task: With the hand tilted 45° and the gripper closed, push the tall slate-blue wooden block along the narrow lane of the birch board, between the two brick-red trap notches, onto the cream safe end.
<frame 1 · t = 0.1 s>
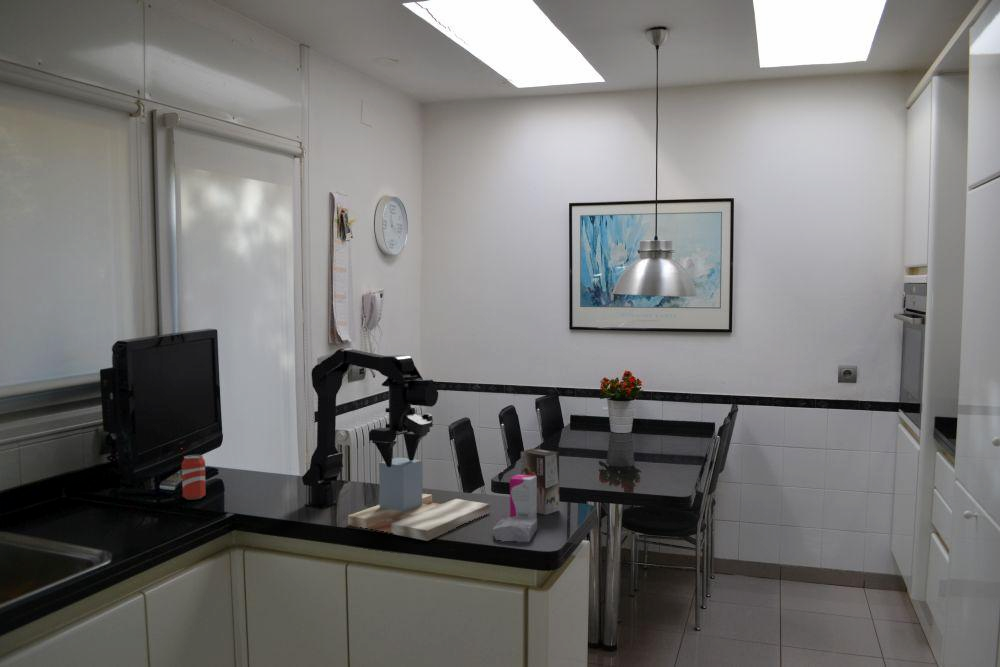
hand: (400, 463, 208), 15 cm above the worktop, tool pointing down, fingers open, 9 cm apart
stone block: (514, 536, 196), on the worktop
supplement box: (523, 521, 208), on the worktop
slate block: (401, 506, 212), point 2 cm above the worktop, touching trap board
beverage can: (194, 498, 231), on the worktop
coffee box: (540, 510, 218), on the worktop
trap board: (420, 519, 209), on the worktop
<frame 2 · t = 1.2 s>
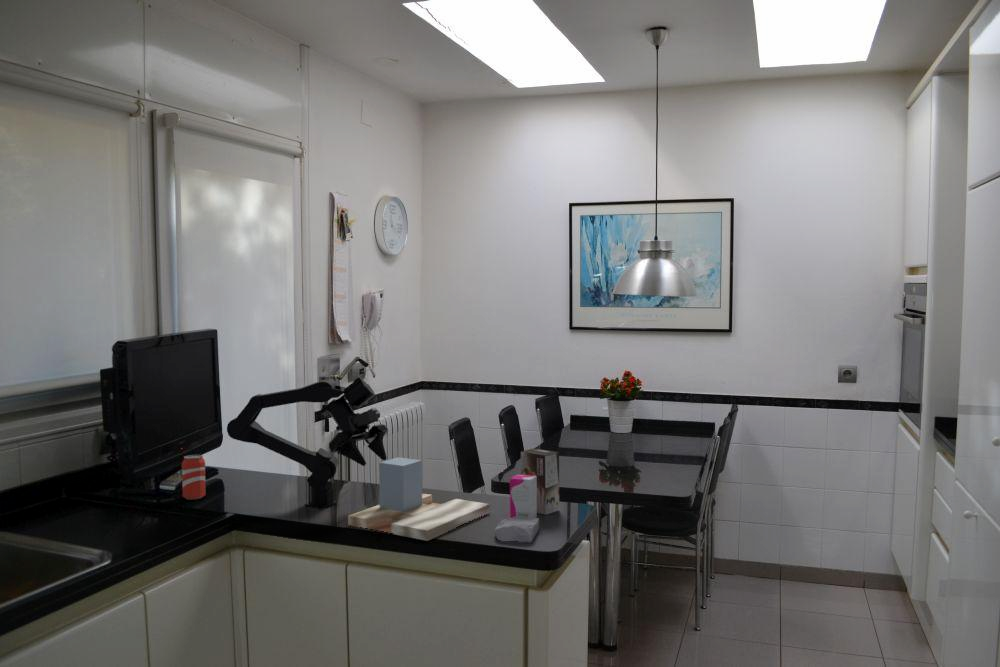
hand: (375, 462, 216), 13 cm above the worktop, tool tilted 45°, fingers open, 8 cm apart
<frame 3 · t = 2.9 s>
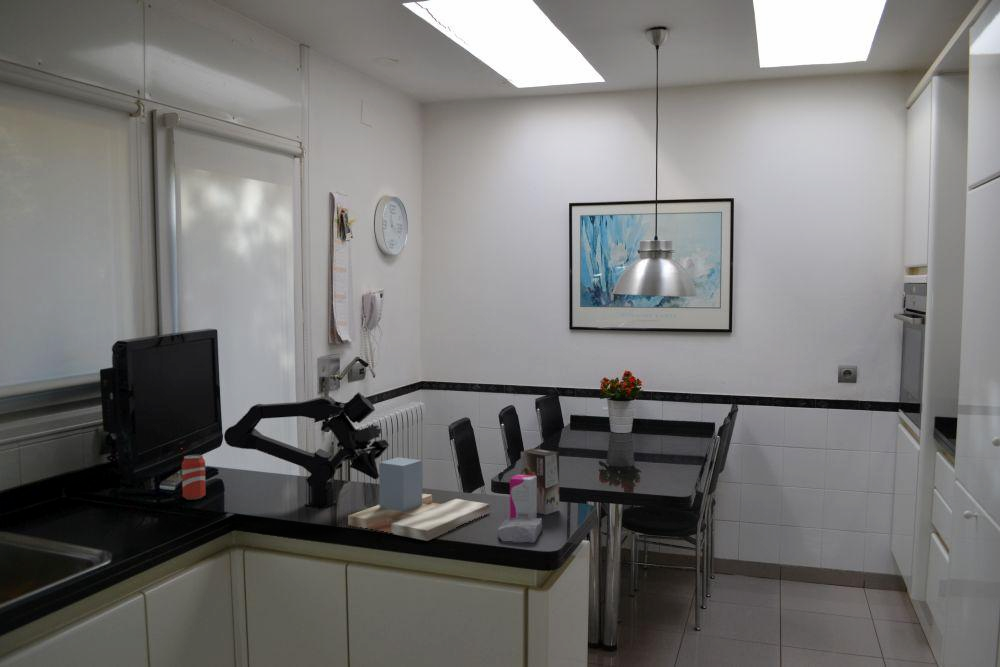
hand: (377, 478, 216), 9 cm above the worktop, tool tilted 45°, fingers closed
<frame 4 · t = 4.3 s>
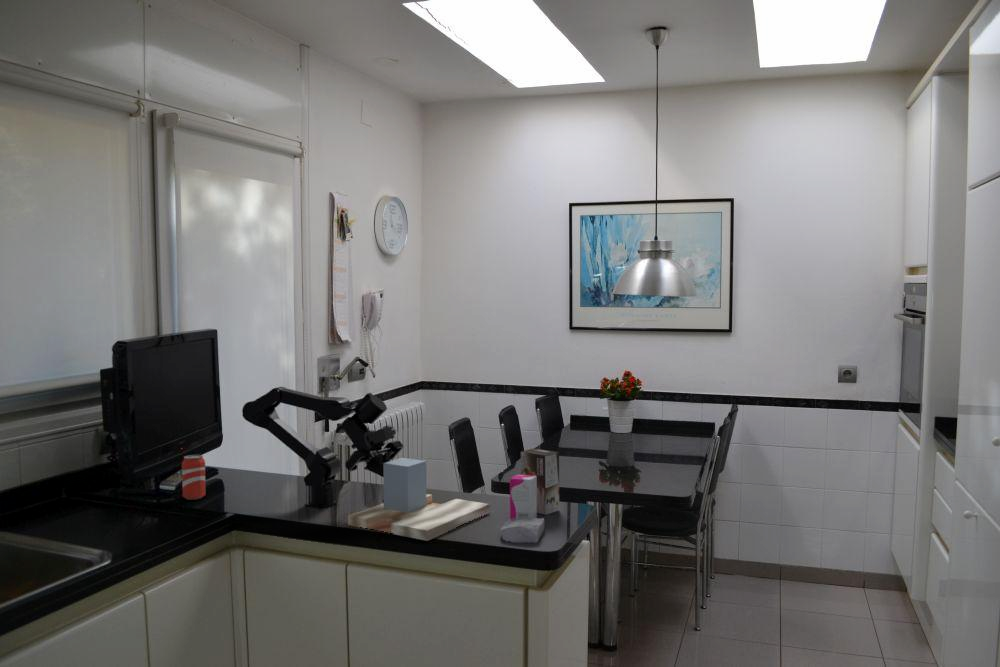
hand: (392, 479, 214), 9 cm above the worktop, tool tilted 45°, fingers closed
slate block: (405, 506, 212), point 3 cm above the worktop, touching gripper, trap board
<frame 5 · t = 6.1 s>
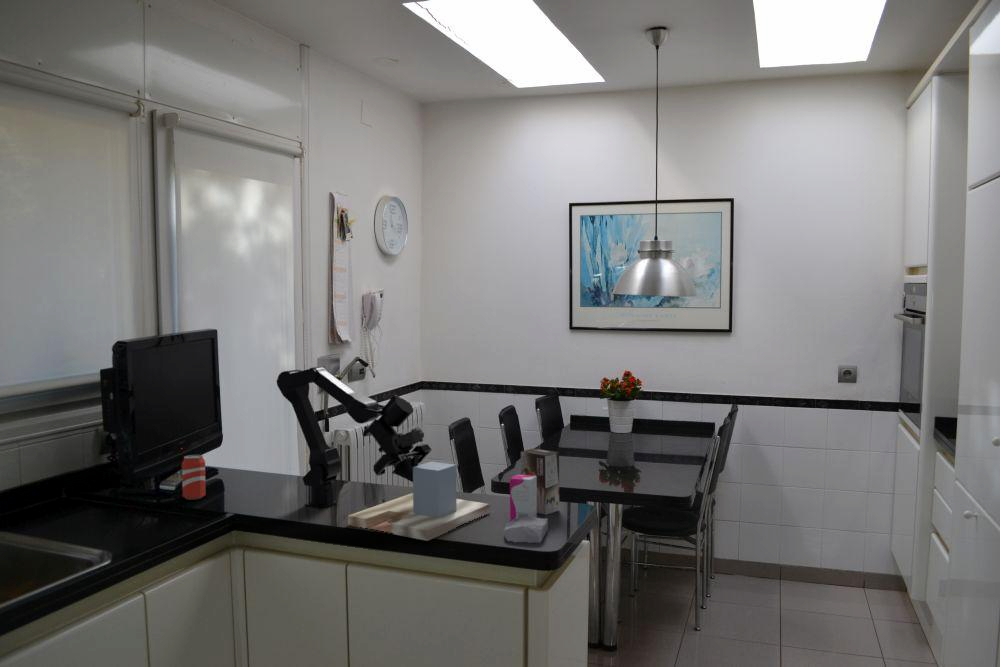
hand: (421, 484, 209), 9 cm above the worktop, tool tilted 45°, fingers closed, pressing on slate block
slate block: (435, 511, 207), point 3 cm above the worktop, touching gripper, trap board
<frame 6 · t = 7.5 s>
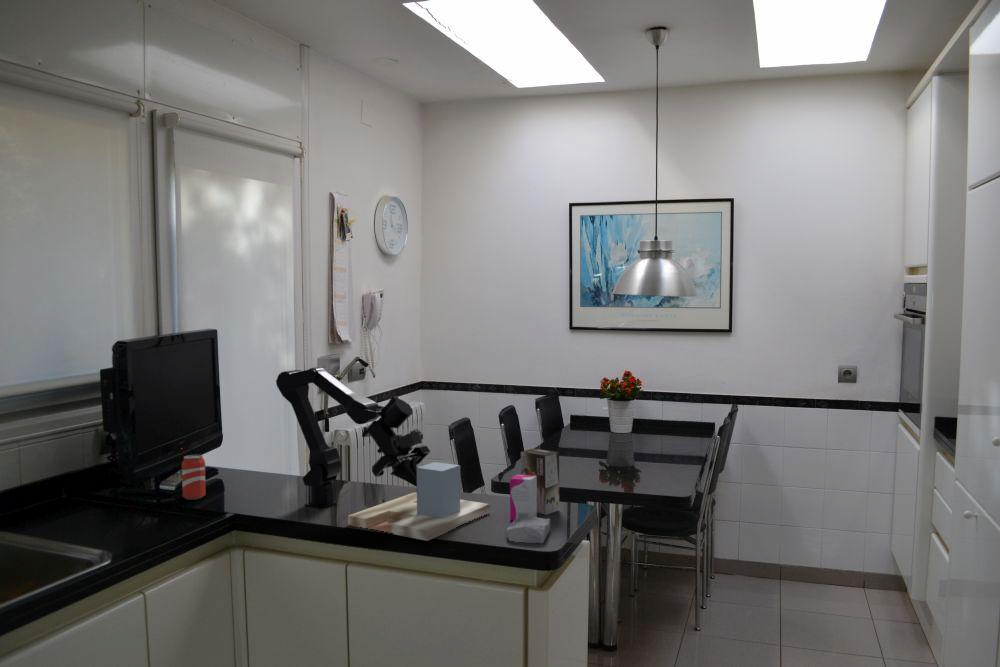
hand: (419, 485, 209), 9 cm above the worktop, tool tilted 45°, fingers closed
slate block: (438, 512, 206), point 2 cm above the worktop, touching trap board
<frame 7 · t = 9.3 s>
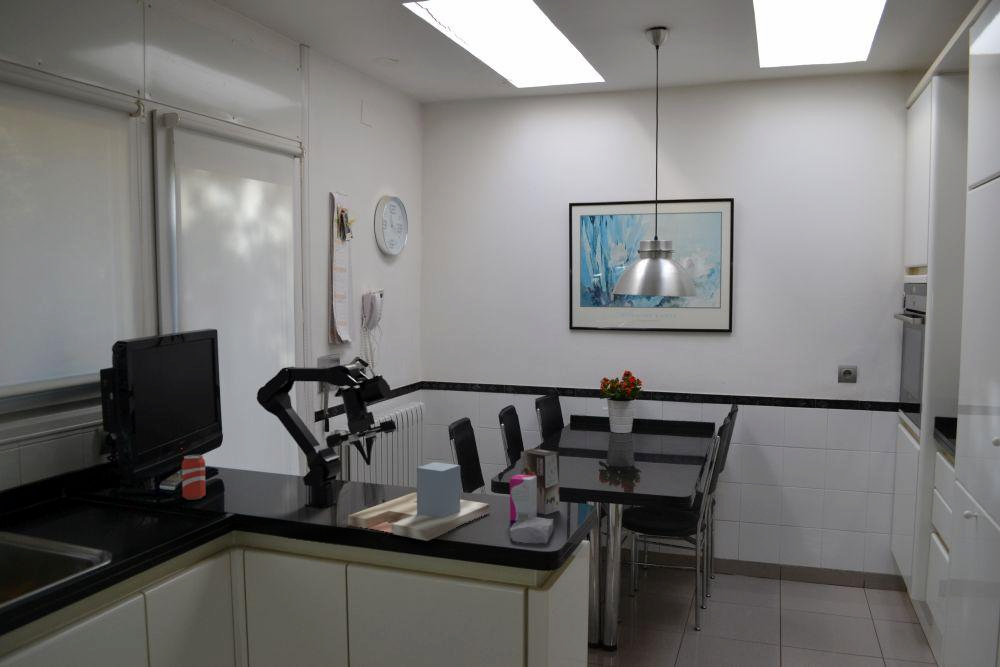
hand: (368, 465, 215), 13 cm above the worktop, tool tilted 20°, fingers closed
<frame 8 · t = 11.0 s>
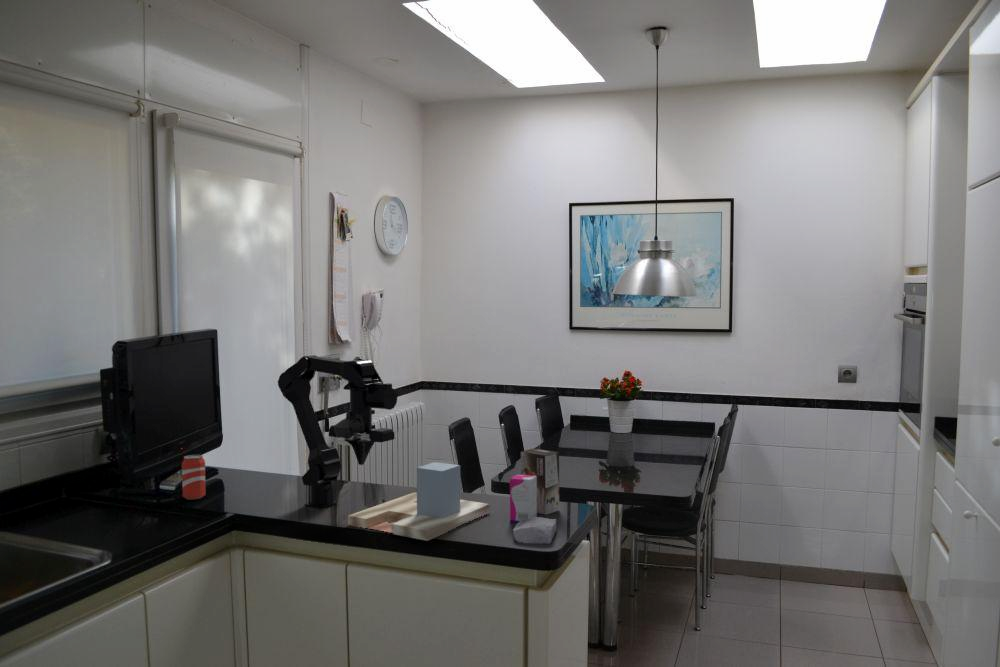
hand: (361, 464, 215), 13 cm above the worktop, tool pointing down, fingers closed
at the end: slate block inside the target area (1.3 cm from its centre), point 2.5 cm above the worktop; slate block tilted 0°; slate block moved 12.2 cm from its start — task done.
